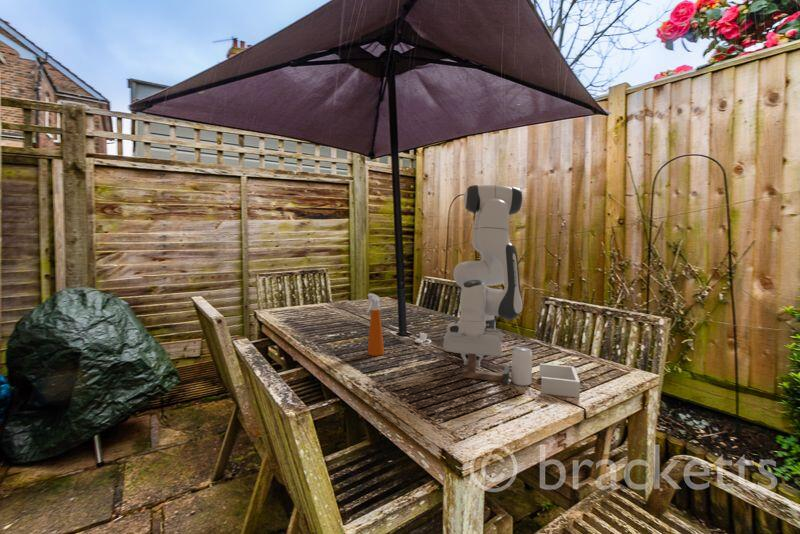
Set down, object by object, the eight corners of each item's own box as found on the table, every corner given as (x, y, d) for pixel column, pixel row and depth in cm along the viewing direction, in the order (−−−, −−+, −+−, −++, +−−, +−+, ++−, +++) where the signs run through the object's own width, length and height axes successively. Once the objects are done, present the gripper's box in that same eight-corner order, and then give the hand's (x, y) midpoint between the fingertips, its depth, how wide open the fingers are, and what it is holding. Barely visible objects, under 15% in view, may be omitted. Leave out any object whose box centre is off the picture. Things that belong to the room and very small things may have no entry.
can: (521, 387, 121) (522, 352, 120) (507, 380, 127) (508, 346, 126) (535, 384, 124) (536, 349, 123) (521, 377, 130) (522, 344, 129)
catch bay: (541, 393, 117) (541, 377, 117) (539, 377, 130) (539, 363, 130) (579, 397, 114) (580, 382, 113) (573, 380, 127) (574, 366, 126)
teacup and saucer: (417, 345, 169) (417, 336, 169) (410, 341, 177) (410, 332, 176) (434, 343, 173) (434, 334, 172) (426, 339, 180) (426, 330, 180)
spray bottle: (359, 357, 152) (358, 293, 150) (372, 349, 162) (372, 290, 159) (374, 359, 149) (374, 294, 147) (387, 352, 159) (386, 291, 156)
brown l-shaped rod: (461, 379, 128) (461, 354, 127) (465, 371, 135) (465, 347, 135) (508, 385, 123) (508, 359, 122) (509, 376, 130) (509, 352, 130)
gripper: (503, 327, 129) (503, 365, 130) (446, 322, 135) (445, 359, 137) (502, 331, 123) (502, 372, 124) (442, 326, 129) (442, 365, 131)
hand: (472, 365), depth 130 cm, fingers closed on brown l-shaped rod, 2 cm apart
